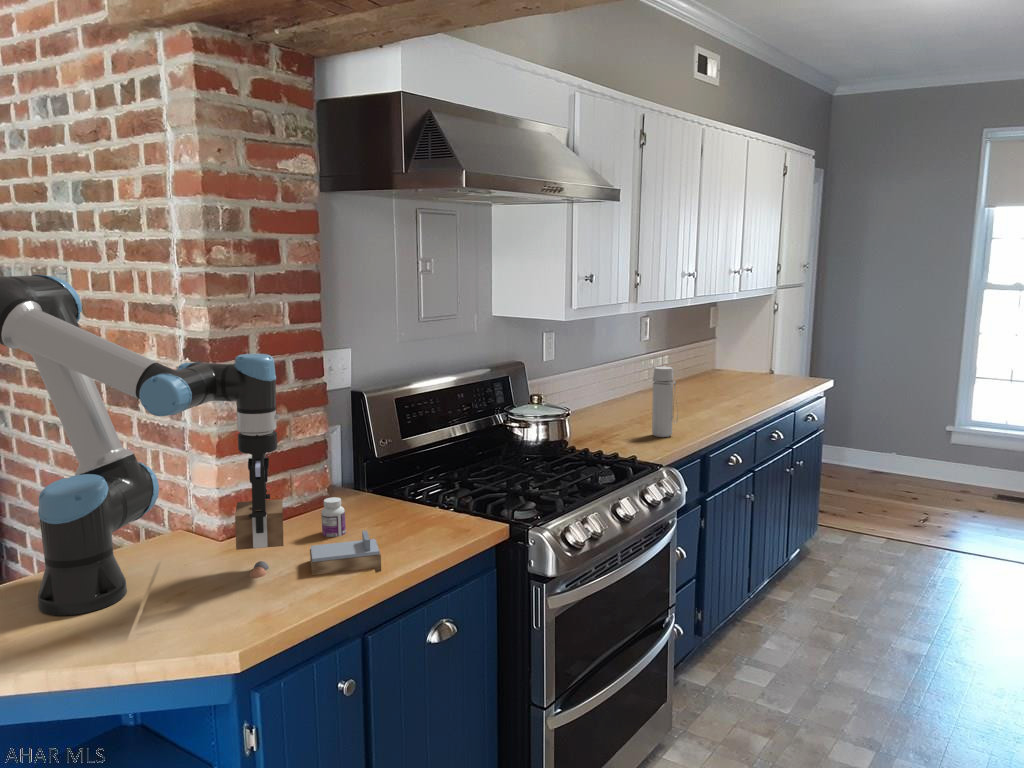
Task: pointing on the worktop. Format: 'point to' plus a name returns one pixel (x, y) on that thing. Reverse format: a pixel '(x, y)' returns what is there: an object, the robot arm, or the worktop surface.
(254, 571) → the ball terracotta
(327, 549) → the sliding lid
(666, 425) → the water bottle
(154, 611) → the worktop surface
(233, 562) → the worktop surface
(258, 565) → the ball grey
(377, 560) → the pencil box
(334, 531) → the pill bottle
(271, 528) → the cover
